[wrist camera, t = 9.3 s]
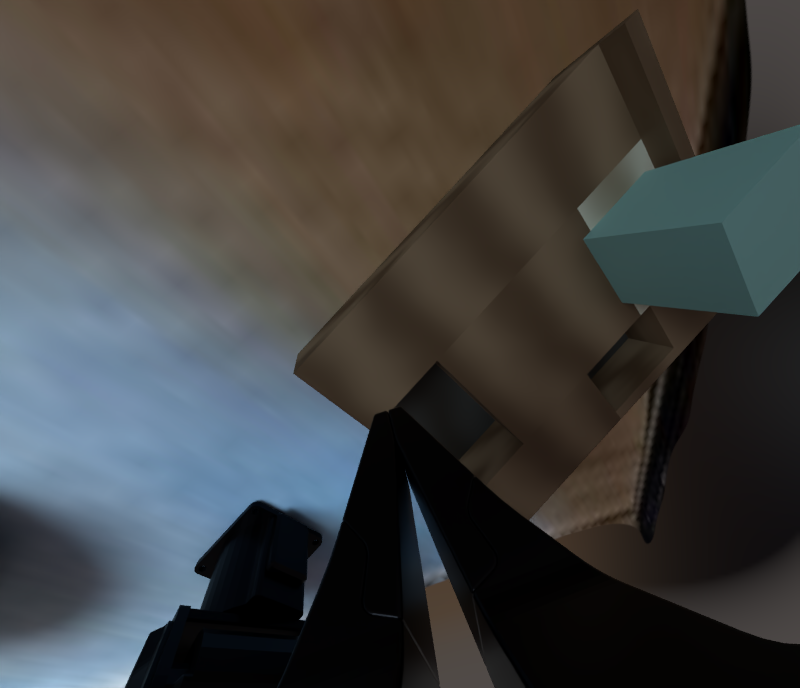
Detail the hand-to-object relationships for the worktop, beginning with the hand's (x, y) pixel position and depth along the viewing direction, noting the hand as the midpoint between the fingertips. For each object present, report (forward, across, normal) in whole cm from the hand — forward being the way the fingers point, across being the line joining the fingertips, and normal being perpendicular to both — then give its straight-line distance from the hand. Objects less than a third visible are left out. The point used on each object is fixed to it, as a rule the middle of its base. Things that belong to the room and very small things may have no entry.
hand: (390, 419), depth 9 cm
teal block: (+11, -19, +1) cm, 22 cm away
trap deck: (+13, -12, +6) cm, 18 cm away
